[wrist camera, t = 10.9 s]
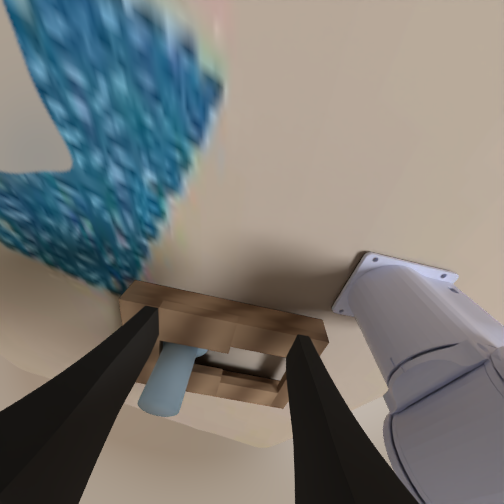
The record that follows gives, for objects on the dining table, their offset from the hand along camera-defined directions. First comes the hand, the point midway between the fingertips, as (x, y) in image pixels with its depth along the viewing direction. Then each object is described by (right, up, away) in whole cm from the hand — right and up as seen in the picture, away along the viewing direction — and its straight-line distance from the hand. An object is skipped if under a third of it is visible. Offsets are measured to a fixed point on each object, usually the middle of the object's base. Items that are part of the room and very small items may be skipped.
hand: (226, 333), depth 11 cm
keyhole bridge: (-3, -8, +17) cm, 19 cm away
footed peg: (-7, -6, +16) cm, 19 cm away
